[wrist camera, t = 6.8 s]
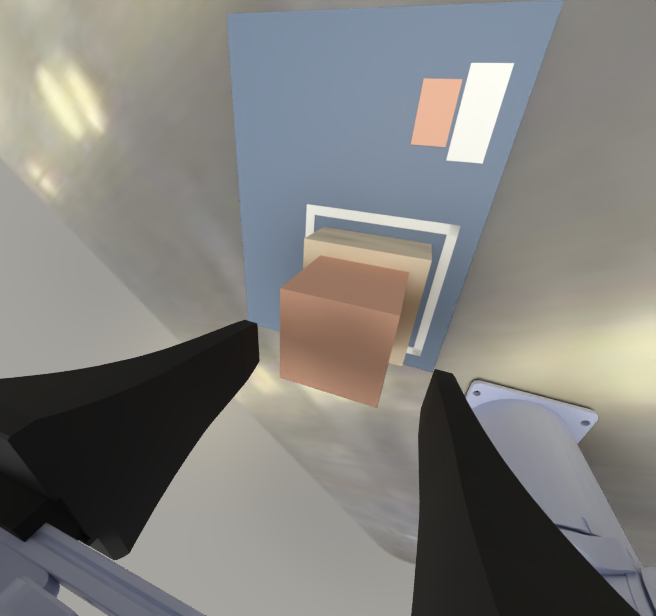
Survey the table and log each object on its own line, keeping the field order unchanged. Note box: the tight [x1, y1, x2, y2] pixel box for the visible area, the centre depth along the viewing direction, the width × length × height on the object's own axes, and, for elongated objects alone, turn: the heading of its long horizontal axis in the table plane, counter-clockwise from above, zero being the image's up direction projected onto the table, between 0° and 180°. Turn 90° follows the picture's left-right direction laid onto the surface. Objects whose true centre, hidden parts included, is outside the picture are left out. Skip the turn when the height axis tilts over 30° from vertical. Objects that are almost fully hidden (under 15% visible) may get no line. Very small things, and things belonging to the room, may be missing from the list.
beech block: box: [303, 227, 432, 366], centre depth 18 cm, size 7×7×4 cm
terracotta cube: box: [280, 255, 409, 408], centre depth 14 cm, size 5×5×5 cm
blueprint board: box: [227, 0, 564, 372], centre depth 18 cm, size 20×16×1 cm
